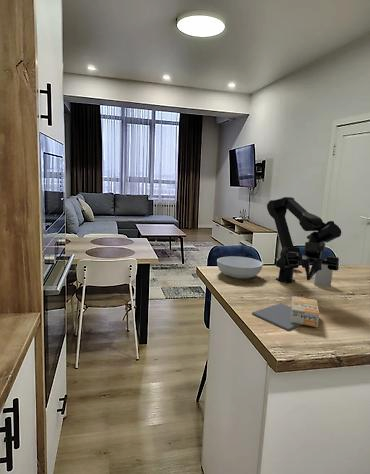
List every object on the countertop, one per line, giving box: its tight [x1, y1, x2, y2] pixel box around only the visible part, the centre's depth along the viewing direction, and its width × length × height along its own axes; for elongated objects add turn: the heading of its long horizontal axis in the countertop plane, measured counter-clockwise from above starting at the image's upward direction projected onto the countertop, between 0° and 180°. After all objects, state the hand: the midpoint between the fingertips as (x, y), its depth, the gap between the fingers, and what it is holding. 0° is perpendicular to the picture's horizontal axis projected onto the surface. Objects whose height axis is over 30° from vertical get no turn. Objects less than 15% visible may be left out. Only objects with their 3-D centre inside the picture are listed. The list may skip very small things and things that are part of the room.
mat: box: [251, 303, 302, 331], centre depth 110 cm, size 16×14×1 cm
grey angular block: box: [312, 264, 334, 288], centre depth 147 cm, size 4×7×10 cm, turn 76°
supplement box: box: [290, 295, 320, 328], centre depth 109 cm, size 8×5×13 cm
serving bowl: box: [216, 256, 264, 279], centre depth 154 cm, size 21×21×7 cm
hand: (308, 279), depth 124 cm, fingers closed
